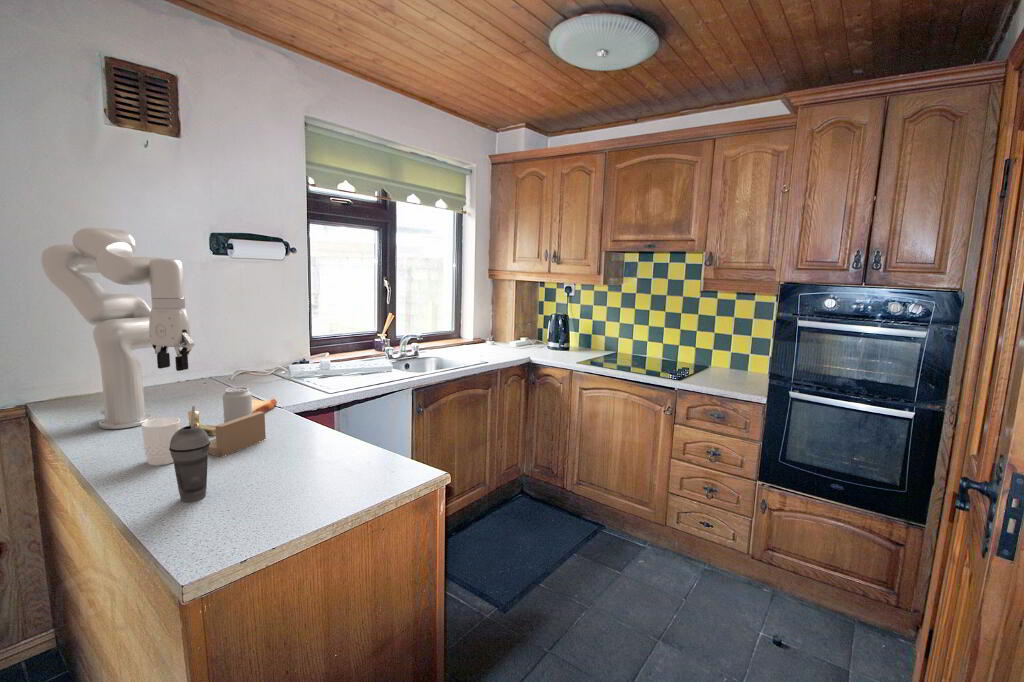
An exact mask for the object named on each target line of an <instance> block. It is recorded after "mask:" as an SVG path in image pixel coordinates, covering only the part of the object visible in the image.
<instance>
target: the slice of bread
mask: <svg viewBox="0 0 1024 682" xmlns="http://www.w3.org/2000/svg"><path fill="white" fill-rule="evenodd" d="M277 403H278V402H277V400H276V398H273V397H271V399H269V400H262V399H257V398H252V413H255V412H258V411H260V412H265V414H266V413H267V411H268V412H269V411H270V410H272V409H273V408H274V407H275V406H276V405H277Z"/></svg>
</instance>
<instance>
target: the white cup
mask: <svg viewBox="0 0 1024 682" xmlns="http://www.w3.org/2000/svg"><path fill="white" fill-rule="evenodd" d="M181 424H182V423H181V419H180V418H179V417H173V416H170V417H168V416H167V417H158V418H152V420H148V421H146V422H144V423H142V424H141V425H140V426H141V431H142V438H143V445H144V446H143V447H144V450H145V451H144V452H145V454H146V460H147V464H148V465H150V466H165V465H170V464H174V462H173V458H172V456H171V453H170V450H169V447H170V442H171V438H172V436H173V435H174V434H175V433H176V432H177V431H178V430H179V429H181V426H182V425H181Z"/></svg>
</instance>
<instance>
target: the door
mask: <svg viewBox="0 0 1024 682" xmlns="http://www.w3.org/2000/svg"><path fill="white" fill-rule="evenodd" d="M265 415H266V413H265V412H260V411H258V412H255V413H252V414H249V415H246V416H243V417H240V418H237V419H234V420H231V421H228V422H225V423H224V422H223V423H220V424H217V425H212V424H207V423H200V422H199V425H205V426H211V427H216V435H214V436H212V435H208V437H209V441H210V445H209V454H208V455H211V454H214V455H213V456H216V455H218V456H217V457H221V456H224V457H226V456H229V455H231V454H233V453H232V452H234V453H236V452H238V451H237V450H239V449H241V450H243V449H242V448H244V449H246V448H248V447H251V446H253V445H256V444H258V443H260V442H259V441H261V442H263V441H265V440H264V439H266V437H267V436H266V417H265ZM186 426H189V422H188V423H186V424H182V425H181V428H183V427H186ZM205 432H206V431H205ZM262 440H263V441H262ZM257 442H258V443H257ZM255 443H256V444H255ZM252 444H253V445H252ZM250 445H251V446H250ZM247 446H248V447H247ZM245 447H246V448H245ZM235 451H236V452H235ZM239 451H240V450H239ZM230 453H231V454H230ZM228 454H229V455H228ZM225 455H226V456H225Z"/></svg>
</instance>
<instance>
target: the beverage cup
mask: <svg viewBox="0 0 1024 682" xmlns="http://www.w3.org/2000/svg"><path fill="white" fill-rule="evenodd" d="M195 410H196V405H192V406H191V411H192V417H191V426H186V427H183V428H181V429H179V430H178V431H177V432H176V433H175V434H174V435H173V436H172V438H171V442H170V447H169V450H170V453H171V456H172V458H173V466H174V471H175V472H174V473H175V476H176V477H175V478H176V483H177V489H178V494H179V497H180V501H181V502H183V503H194V502H197V501H200V500H202V499H204V498H205V497H207V496H206V494H207V483H208V463H209V462H208V456H209V454H208V453H209V445H210V441H209V437H208V435H207V433H206V432H205V431H204V430H203V429H201V428H200V427H197V426H194V413H195Z"/></svg>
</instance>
